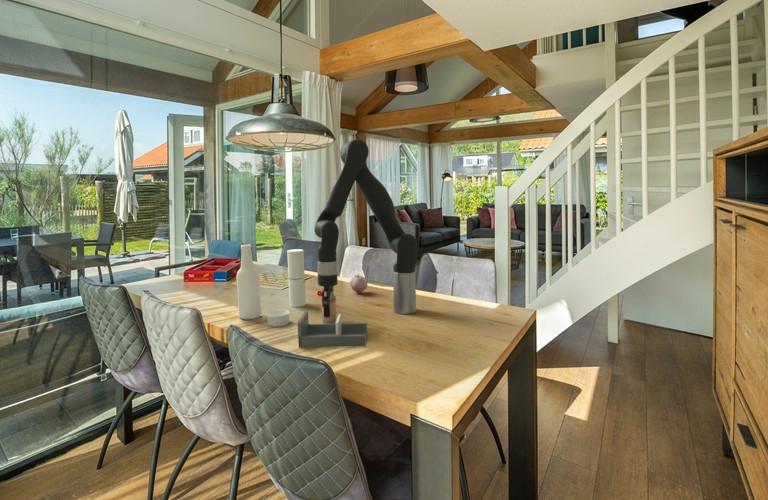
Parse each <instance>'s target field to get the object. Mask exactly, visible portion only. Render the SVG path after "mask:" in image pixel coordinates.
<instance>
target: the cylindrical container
mask: <svg viewBox="0 0 768 500" xmlns="http://www.w3.org/2000/svg"><path fill="white" fill-rule="evenodd" d="M286 254H287V255H286V256H287V257H286V258H287V277H288V293H289V294H288V297H289V298H288V299H289V306H290V307H293V308H299V307H304V306H306V303H307V302H306V298H307V297H306V280H305V277H306V276H305V255H304V254H305V253H304V249H299V248H295V249H289V250H288V249H287V251H286Z"/></svg>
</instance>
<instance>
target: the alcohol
mask: <svg viewBox="0 0 768 500" xmlns="http://www.w3.org/2000/svg"><path fill="white" fill-rule="evenodd" d="M240 257H241V258H240V268H239V269H238V270H237V272H236V291H237V304H238V305H237V306H238V316H239V318H240V319H241V320H244V319H245V321H246V320H247V321H249V320H250V319H251V320H255V318H256V319H258V318H260V317H261V316H262V301H261V299H262V297H261V285H260V273H259V270H258V269H257V268H256V267H255V266H254V261H253V253H252V245H251V244H249V243H247V244H241V245H240Z"/></svg>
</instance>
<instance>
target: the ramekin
mask: <svg viewBox="0 0 768 500" xmlns="http://www.w3.org/2000/svg"><path fill="white" fill-rule="evenodd" d="M265 315H266V318H267V324H268V326H269V327H272V328H273V327H274V328H275V327H284V326H286V325H288V324H289V323H290V315H291V313H290V310H286V309H277V310H272V311H268V312H267V313H266V314H265Z"/></svg>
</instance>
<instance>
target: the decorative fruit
mask: <svg viewBox="0 0 768 500" xmlns="http://www.w3.org/2000/svg"><path fill="white" fill-rule="evenodd" d="M349 284H350V287H351V289H352V290H353V291H354V292H355V293H357V294H361V293H363V292H364V291H365V290H366V289H367V288H368V284H369V283H368V279H367V278H366V277H365V276H362V275H360V274H359V273H358V274H356V275H354V276H353V277H352V278H351V279H350V281H349Z"/></svg>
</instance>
